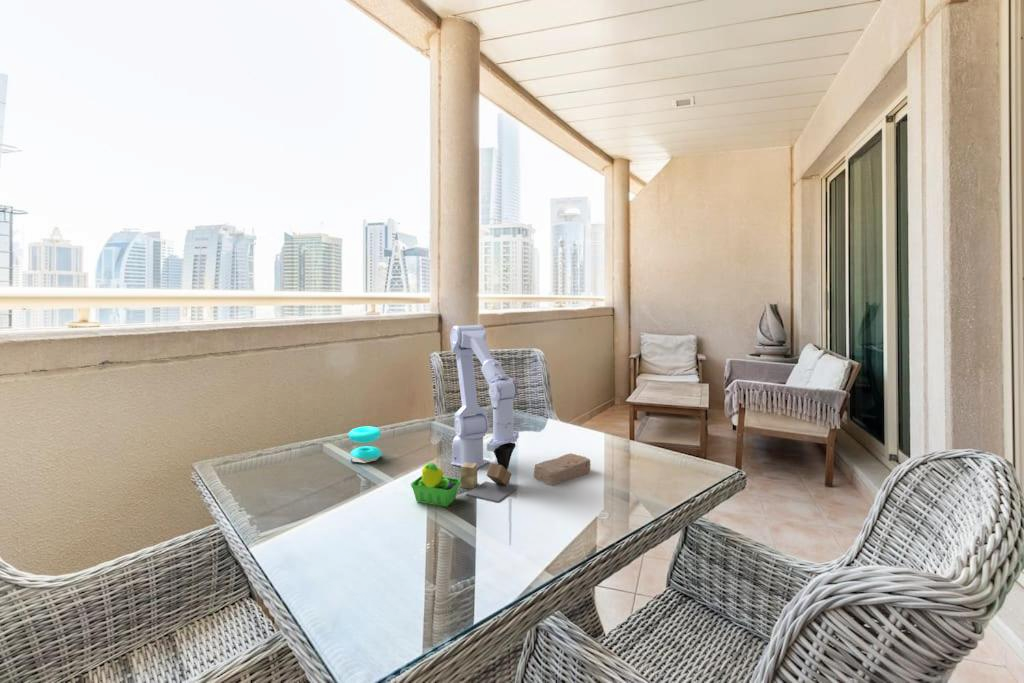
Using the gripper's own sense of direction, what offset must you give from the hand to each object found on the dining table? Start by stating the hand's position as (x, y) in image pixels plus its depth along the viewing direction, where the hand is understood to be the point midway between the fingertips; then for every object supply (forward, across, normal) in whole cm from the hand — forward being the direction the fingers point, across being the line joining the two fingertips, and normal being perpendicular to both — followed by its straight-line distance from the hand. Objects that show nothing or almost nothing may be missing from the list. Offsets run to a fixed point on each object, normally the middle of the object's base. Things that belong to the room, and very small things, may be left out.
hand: (503, 468), depth 141 cm
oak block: (+4, -5, +8) cm, 11 cm away
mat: (+4, -6, 0) cm, 8 cm away
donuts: (+5, -3, +50) cm, 50 cm away
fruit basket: (+5, -18, +10) cm, 22 cm away
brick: (+5, +14, -12) cm, 19 cm away
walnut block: (+3, 0, 0) cm, 3 cm away
